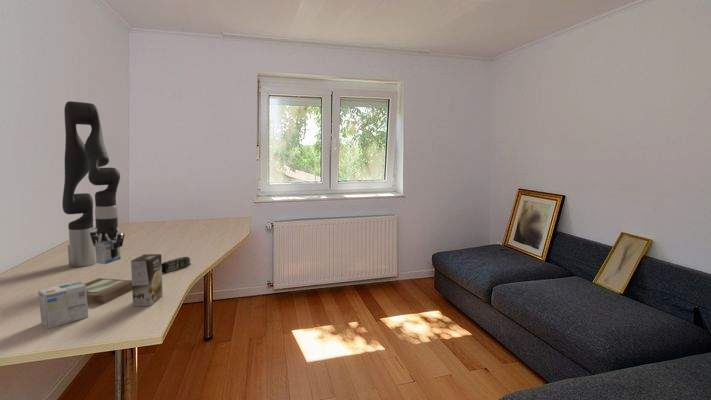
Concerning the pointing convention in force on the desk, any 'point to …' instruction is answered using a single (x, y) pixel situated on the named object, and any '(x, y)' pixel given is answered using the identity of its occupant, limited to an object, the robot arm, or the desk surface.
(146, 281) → the coffee box
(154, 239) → the desk surface
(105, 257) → the medicine box
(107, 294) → the walnut plinth
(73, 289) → the light bulb box
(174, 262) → the dark remote control
